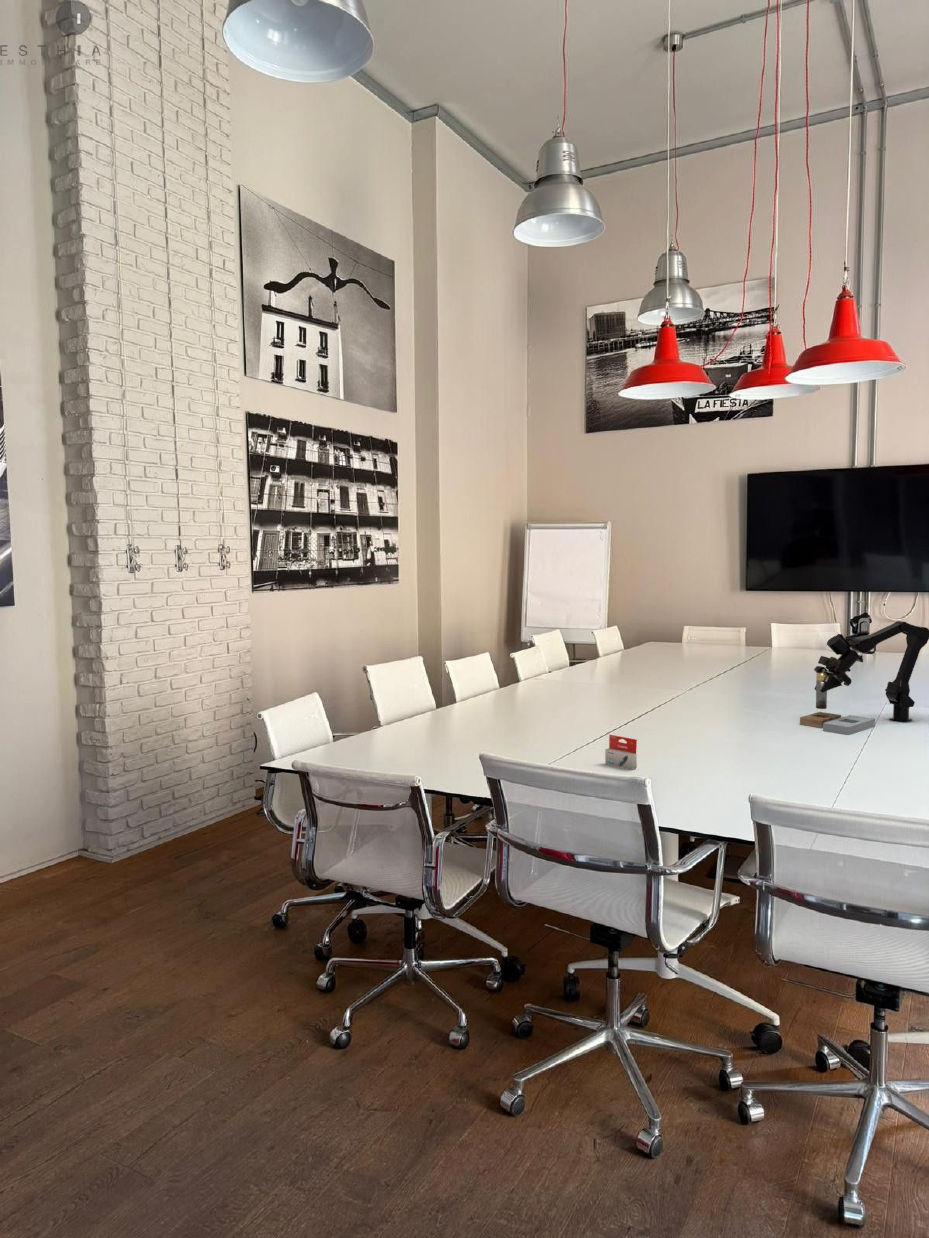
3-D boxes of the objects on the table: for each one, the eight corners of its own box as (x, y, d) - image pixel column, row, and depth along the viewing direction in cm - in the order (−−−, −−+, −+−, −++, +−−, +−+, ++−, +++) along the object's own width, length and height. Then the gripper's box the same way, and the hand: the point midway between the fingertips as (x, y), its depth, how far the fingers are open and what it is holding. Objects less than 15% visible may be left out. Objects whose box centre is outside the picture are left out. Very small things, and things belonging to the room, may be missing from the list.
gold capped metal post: (818, 706, 333) (819, 672, 332) (828, 708, 330) (829, 673, 329) (813, 708, 330) (814, 673, 329) (823, 709, 327) (824, 674, 326)
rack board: (849, 722, 332) (849, 715, 331) (874, 726, 324) (875, 718, 324) (822, 730, 318) (823, 723, 317) (848, 734, 310) (848, 727, 310)
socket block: (819, 718, 339) (819, 711, 339) (841, 722, 332) (841, 714, 332) (799, 724, 329) (800, 717, 329) (821, 728, 322) (821, 720, 322)
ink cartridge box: (632, 770, 265) (633, 740, 264) (604, 764, 273) (604, 735, 272) (637, 768, 267) (637, 739, 266) (609, 762, 275) (609, 734, 274)
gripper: (818, 646, 338) (793, 673, 337) (844, 651, 319) (817, 680, 319) (836, 664, 339) (810, 691, 339) (863, 671, 321) (836, 700, 320)
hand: (818, 690), depth 329 cm, fingers closed on gold capped metal post, 4 cm apart
